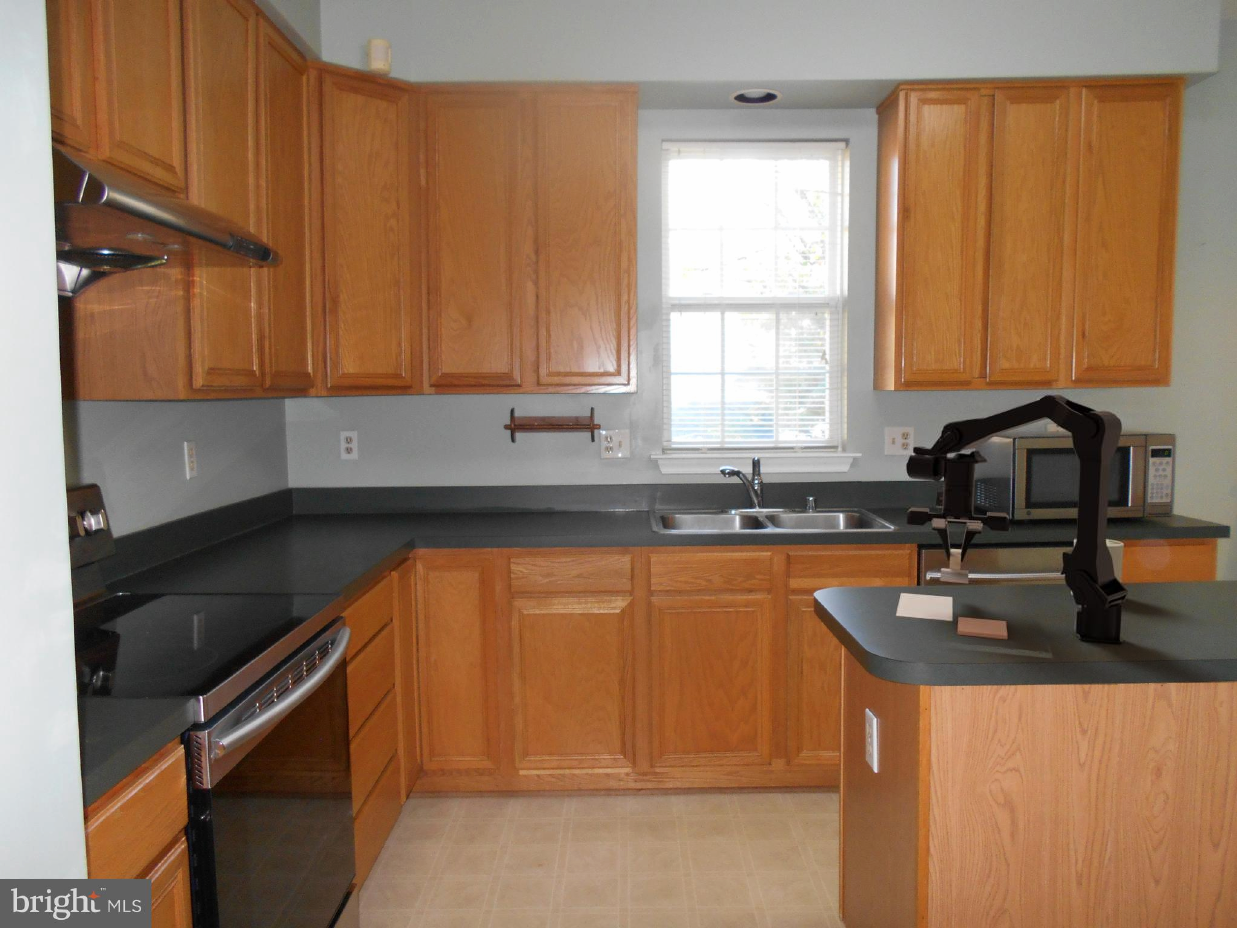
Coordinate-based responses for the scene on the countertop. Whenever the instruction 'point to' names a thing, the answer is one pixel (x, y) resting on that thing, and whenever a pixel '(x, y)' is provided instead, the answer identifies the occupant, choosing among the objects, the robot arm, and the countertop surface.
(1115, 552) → the can
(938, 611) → the board
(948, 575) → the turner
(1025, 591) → the countertop surface
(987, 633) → the tile
